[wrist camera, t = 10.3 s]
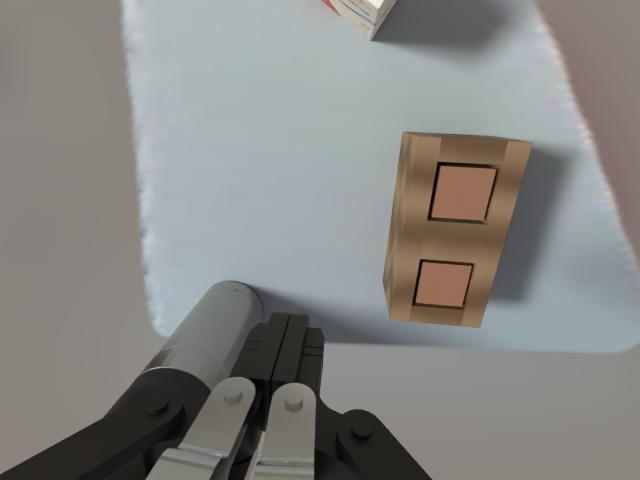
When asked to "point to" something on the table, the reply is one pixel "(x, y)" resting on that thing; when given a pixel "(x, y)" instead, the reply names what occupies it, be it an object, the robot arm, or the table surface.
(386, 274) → the walnut block
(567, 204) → the table surface
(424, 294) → the peg far
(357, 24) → the ink cartridge box
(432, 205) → the peg near
